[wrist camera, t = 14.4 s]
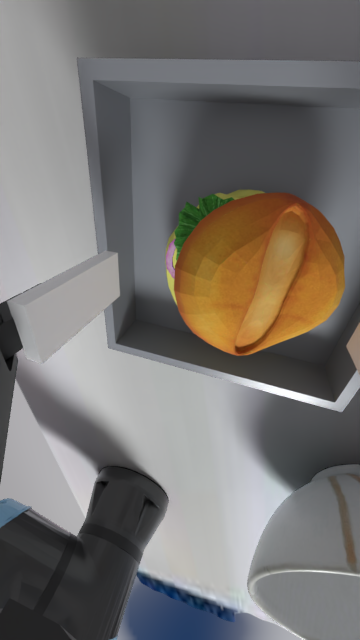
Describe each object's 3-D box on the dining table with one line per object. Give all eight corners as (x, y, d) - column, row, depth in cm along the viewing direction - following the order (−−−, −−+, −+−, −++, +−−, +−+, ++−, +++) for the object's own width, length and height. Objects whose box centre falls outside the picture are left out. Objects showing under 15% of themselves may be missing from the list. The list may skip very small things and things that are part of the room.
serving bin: (328, 368, 23) (341, 412, 19) (132, 320, 27) (108, 348, 23) (485, 96, 12) (590, 63, 8) (124, 84, 16) (76, 57, 12)
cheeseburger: (147, 216, 20) (104, 233, 11) (286, 162, 17) (379, 124, 8) (189, 324, 24) (182, 402, 15) (305, 291, 21) (382, 359, 12)
